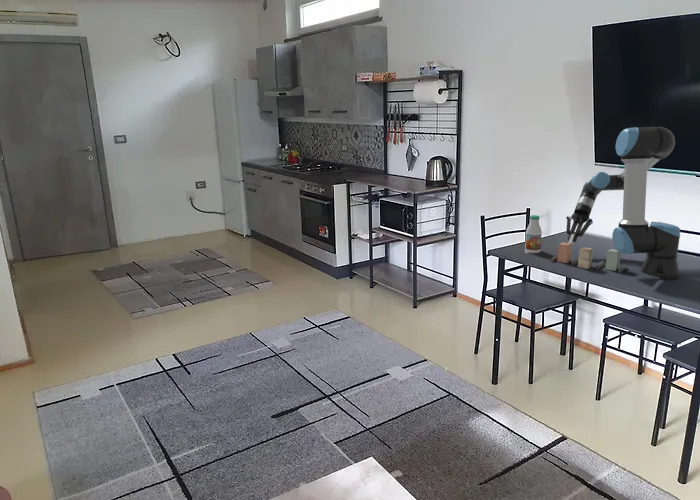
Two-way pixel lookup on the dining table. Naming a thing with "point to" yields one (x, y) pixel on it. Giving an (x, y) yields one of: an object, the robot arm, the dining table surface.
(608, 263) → the sage green block
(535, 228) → the milk bottle
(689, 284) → the dining table surface
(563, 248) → the salmon pink block
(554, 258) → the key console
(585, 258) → the birch key
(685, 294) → the dining table surface
